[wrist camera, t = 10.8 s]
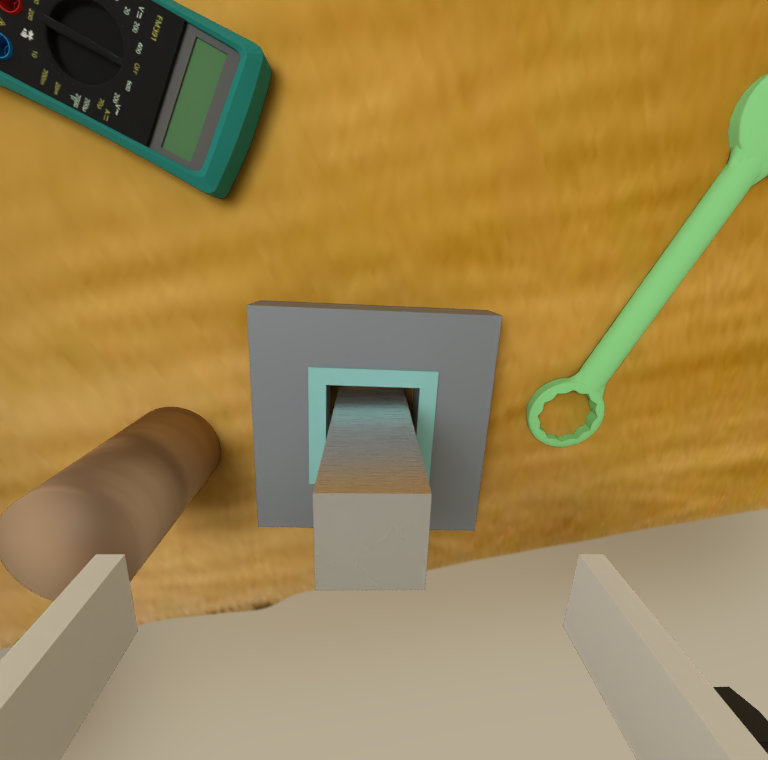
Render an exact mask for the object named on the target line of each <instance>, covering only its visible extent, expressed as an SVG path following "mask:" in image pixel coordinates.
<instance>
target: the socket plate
mask: <svg viewBox="0 0 768 760" xmlns="http://www.w3.org/2000/svg"><path fill="white" fill-rule="evenodd" d="M247 319H248V339H249V359H250V378H251V398H252V418H253V437H254V457H255V476H256V496H257V516H258V527H301V528H314V522H313V490H314V486H315V482H316V478H317V474H318V470H319V466H320V462H321V458H322V454H323V450H324V446H325V442H326V438H327V434H328V430H329V426H330V422H331V385H343V386H372V387H402V388H414V389H413V403H412V418H411V419H412V422H413V426H414V430H415V434H416V437H417V441H418V445H419V448H420V452H421V456H422V460H423V463H424V467H425V471H426V474H427V478H428V482H429V486H430V489H431V493H432V497H431V511H430V526H429V530H471V531H474V530H475V523H476V515H477V507H478V499H479V492H480V484H481V476H482V468H483V460H484V453H485V445H486V437H487V429H488V422H489V414H490V406H491V398H492V390H493V383H494V375H495V367H496V359H497V352H498V344H499V336H500V328H501V320H502V316H501V315H499V314H496V313H493V312H491V311H488V310H470V309H447V308H423V307H400V306H377V305H353V304H330V303H307V302H284V301H258V302H255V303H252V304H249V305H247Z"/></svg>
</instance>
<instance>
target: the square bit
mask: <svg viewBox="0 0 768 760" xmlns="http://www.w3.org/2000/svg"><path fill="white" fill-rule="evenodd" d="M431 497H432V493H431V489H430V486H429V482H428V478H427V474H426V471H425V467H424V463H423V460H422V456H421V452H420V448H419V445H418V441H417V437H416V434H415V430H414V426H413V422H412V419H411V415H410V411H409V407H408V404H407V400H406V396H405V393H404V389H403V388H402V387H372V386H343V385H340V386H339V390H338V394H337V398H336V402H335V406H334V410H333V414H332V418H331V422H330V426H329V430H328V434H327V438H326V442H325V446H324V450H323V454H322V458H321V462H320V466H319V470H318V474H317V478H316V482H315V486H314V490H313V522H314V557H315V590H425V585H426V571H427V556H428V541H429V526H430V511H431Z"/></svg>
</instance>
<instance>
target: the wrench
mask: <svg viewBox="0 0 768 760" xmlns="http://www.w3.org/2000/svg"><path fill="white" fill-rule="evenodd" d="M728 139H729V147H730V151H731V153H730V157H729V161H728V163H727V164H726V166H725V167H724V168H723V170H722V171H721V173H720V174H719V175H718V177H717V178H716V180H715V181H714V182H713V184H712V185H711V187H710V188H709V189H708V191H707V192H706V194H705V195H704V196H703V198H702V199H701V201H700V202H699V203H698V205H697V206H696V208H695V209H694V210H693V212H692V213H691V215H690V216H689V217H688V219H687V220H686V222H685V223H684V224H683V226H682V227H681V229H680V230H679V231H678V233H677V234H676V236H675V237H674V238H673V240H672V241H671V243H670V244H669V245H668V247H667V248H666V250H665V251H664V252H663V254H662V255H661V257H660V258H659V259H658V261H657V262H656V264H655V265H654V266H653V268H652V269H651V271H650V272H649V273H648V275H647V276H646V278H645V279H644V280H643V282H642V283H641V285H640V286H639V287H638V289H637V290H636V292H635V293H634V294H633V296H632V297H631V299H630V300H629V301H628V303H627V304H626V306H625V307H624V308H623V310H622V311H621V313H620V314H619V315H618V317H617V318H616V320H615V321H614V322H613V324H612V325H611V327H610V328H609V329H608V331H607V332H606V334H605V335H604V336H603V338H602V339H601V341H600V342H599V343H598V345H597V346H596V348H595V349H594V350H593V352H592V353H591V355H590V356H589V357H588V359H587V360H586V362H585V363H584V364H583V366H582V367H581V369H580V370H579V371H578V373H577V374H575V375H573V376H572V377H570V378H559V379H556V380H553V381H550V382H548V383H546V384H544V385H543V386H542V387H540V388H539V389H538V390H537V391H536V392H535V393H534V394H533V396H532V397H531V399H530V401H529V404H528V407H527V413H526V417H527V423H528V427H529V428H530V430H531V432H532V434H533V435H534V436H535V437H536V438H537V439H538V440H539V441H541V442H542V443H544V444H547V445H550V446H554V447H565V446H571V445H575V444H577V443H580V442H582V441H584V440H585V439H587V438H588V437H590V436H591V435H592V434H593V433H594V432H595V431H596V430H597V429H598V427H599V426H600V424H601V422H602V420H603V417H604V411H605V407H604V401H603V399H602V398H603V394H604V390H605V385H606V383H607V382H608V380H609V379H610V378H611V376H612V375H613V374H614V372H615V371H616V370H617V368H618V367H619V366H620V364H621V363H622V361H623V360H624V359H625V357H626V356H627V355H628V353H629V352H630V351H631V349H632V348H633V347H634V345H635V344H636V342H637V341H638V340H639V338H640V337H641V336H642V334H643V333H644V332H645V330H646V329H647V328H648V326H649V325H650V323H651V322H652V321H653V319H654V318H655V317H656V315H657V314H658V313H659V311H660V310H661V308H662V307H663V306H664V304H665V303H666V302H667V300H668V299H669V298H670V296H671V295H672V294H673V292H674V291H675V289H676V288H677V287H678V285H679V284H680V283H681V281H682V280H683V279H684V277H685V276H686V275H687V273H688V272H689V270H690V269H691V268H692V266H693V265H694V264H695V262H696V261H697V260H698V258H699V257H700V256H701V254H702V253H703V251H704V250H705V249H706V247H707V246H708V245H709V243H710V242H711V241H712V239H713V238H714V237H715V235H716V234H717V232H718V231H719V230H720V228H721V227H722V226H723V224H724V223H725V222H726V220H727V219H728V217H729V216H730V215H731V213H732V212H733V211H734V209H735V208H736V207H737V205H738V204H739V203H740V201H741V200H742V198H743V197H744V196H745V194H746V193H747V192H748V190H749V189H750V188H751V186H753V185H754V184H756V183H757V182H759V181H760V180H762V179H763V178H765V177H766V176H768V73H767V74H765V75H764V76H762V77H761V78H759V79H758V80H756V81H755V82H754V83H753V84H752V85H751V86H750V87H749V88H748V89H747V90H746V91H745V93H744V94H743V95H742V96H741V98H740V100H739V101H738V103H737V105H736V107H735V109H734V112H733V114H732V117H731V121H730V125H729V134H728ZM572 390H575V391H577V392H578V393H580V394H585V395H586V396H587V397H588V398H589V406H590V408H591V412H590V413H589V414H588V416H587V418H586V424H585V425H583V426H581V427H579V428H578V429H577V430H576V431H575V433H574V434H565V435H563V436H561V437H559V438H558V437H557V436H555V435H553V434H546V433H545V432H544V430H543V428H541V427H540V421H539V418H538V415H539V414H540V413H541V412H542V410H543V406H544V403H545V402H548V401H550V400H552V399H553V398H554V397H555V395H556V394H557V393H568V392H570V391H572Z"/></svg>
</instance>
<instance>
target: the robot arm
mask: <svg viewBox="0 0 768 760" xmlns="http://www.w3.org/2000/svg"><path fill="white" fill-rule="evenodd" d="M563 627H564V628H565V630H566V632H567V634H568V636H569V638H570V639H571V641H572V643H573V645H574V647H575V649H576V650H577V652H578V654H579V656H580V658H581V659H582V661H583V663H584V665H585V667H586V669H587V670H588V672H589V674H590V676H591V678H592V679H593V681H594V683H595V685H596V687H597V689H598V690H599V692H600V694H601V696H602V697H603V699H604V701H605V703H606V705H607V707H608V708H609V710H610V712H611V714H612V716H613V718H614V719H615V721H616V723H617V725H618V727H619V728H620V730H621V732H622V734H623V736H624V737H625V739H626V741H627V743H628V745H629V747H630V748H631V750H632V752H633V754H634V756H635V758H636V759H637V760H768V721H767V720H766V718H765V717H764V716H763V715H762V714H761V713H760V712H759V711H758V710H757V709H756V708H754V707H753V706H752V705H751V704H750V703H748V702H747V701H746V700H745V699H743V698H742V697H741V696H740V695H738V694H737V693H736V692H735V691H733V690H732V689H731V688H730V687H712V686H711V685H710V683H709V682H708V681H707V679H706V678H705V677H704V676H703V675H702V673H700V671H699V670H698V669H697V667H696V666H695V665H694V664H693V662H692V661H691V660H690V659H689V658H688V656H687V655H686V654H685V653H684V652H683V650H682V649H681V648H680V647H679V645H678V644H677V643H676V642H675V641H674V639H673V638H672V637H671V636H670V635H669V633H668V632H667V631H666V630H665V628H664V627H663V626H662V625H661V624H660V622H659V621H658V620H657V619H656V617H655V616H654V615H653V614H652V613H651V611H650V610H649V609H648V608H647V606H646V605H645V604H644V603H643V602H642V600H641V599H640V598H639V597H638V596H637V594H636V593H635V592H634V591H633V589H632V588H631V587H630V586H629V585H628V583H627V582H626V581H625V580H624V579H623V577H622V576H621V575H620V574H619V572H618V571H617V570H616V569H615V568H614V566H613V565H612V564H611V563H610V561H609V560H608V559H607V558H606V557H605V555H604V554H579V556H578V561H577V565H576V569H575V574H574V579H573V583H572V587H571V592H570V596H569V600H568V605H567V609H566V614H565V618H564V623H563ZM137 631H138V628H137V622H136V617H135V611H134V605H133V599H132V593H131V588H130V582H129V576H128V570H127V564H126V559H125V554H96V555H95V556H94V557H93V558H92V559H91V560H90V562H89V563H88V564H87V565H86V566H85V567H84V568H83V569H82V570H81V572H80V573H79V574H78V575H77V576H76V577H75V578H74V579H73V580H72V582H71V583H70V584H69V585H68V586H67V587H66V588H65V589H64V590H63V592H62V593H61V594H60V595H59V596H58V597H57V598H56V599H55V600H54V602H53V603H52V604H51V605H50V606H49V607H48V608H47V609H46V610H45V611H44V613H43V614H42V615H41V616H40V617H39V618H38V619H37V620H36V621H35V623H34V624H33V625H32V626H31V627H30V628H29V629H28V630H27V631H26V633H25V634H24V635H23V636H22V637H21V638H20V639H19V640H18V641H17V643H16V644H15V645H14V646H13V647H12V648H11V649H10V650H9V651H8V653H7V654H6V655H5V656H4V657H3V658H2V659H1V660H0V760H60V759H61V758H62V756H63V754H64V752H65V751H66V749H67V748H68V746H69V744H70V742H71V741H72V739H73V738H74V736H75V734H76V733H77V731H78V729H79V728H80V726H81V724H82V723H83V721H84V719H85V718H86V716H87V714H88V713H89V711H90V709H91V708H92V706H93V704H94V703H95V701H96V699H97V698H98V696H99V694H100V693H101V691H102V689H103V688H104V686H105V685H106V683H107V681H108V680H109V678H110V676H111V674H112V673H113V671H114V670H115V668H116V666H117V665H118V663H119V661H120V660H121V658H122V656H123V655H124V653H125V651H126V650H127V648H128V646H129V645H130V643H131V641H132V640H133V638H134V636H135V635H136V633H137Z"/></svg>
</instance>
